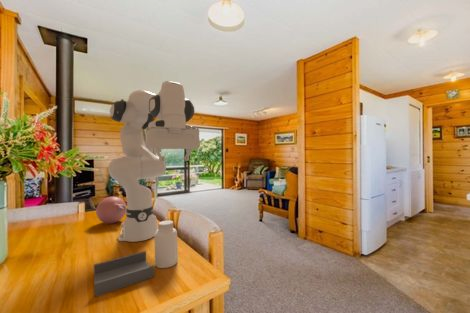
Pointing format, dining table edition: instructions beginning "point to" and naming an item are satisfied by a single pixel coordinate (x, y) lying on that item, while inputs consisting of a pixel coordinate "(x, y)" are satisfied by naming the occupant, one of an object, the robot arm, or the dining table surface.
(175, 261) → the pill bottle
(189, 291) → the dining table surface
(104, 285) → the u rest
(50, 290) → the dining table surface
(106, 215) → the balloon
